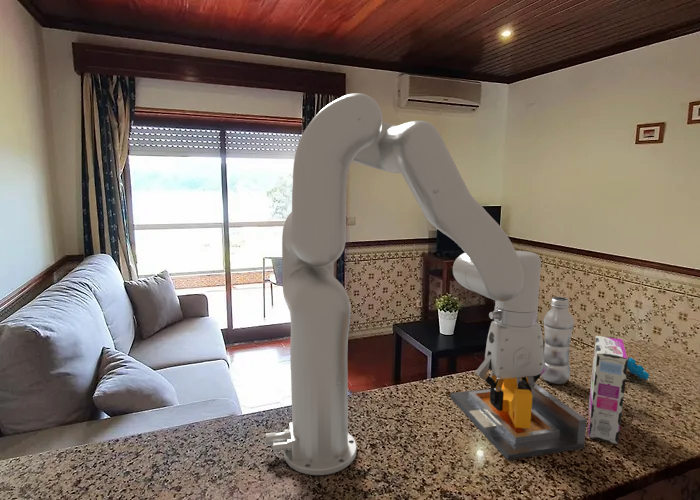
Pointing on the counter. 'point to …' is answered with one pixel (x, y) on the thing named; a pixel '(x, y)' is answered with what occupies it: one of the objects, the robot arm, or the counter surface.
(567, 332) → the plastic bottle
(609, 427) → the candy bar box
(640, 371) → the gear
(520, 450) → the grey tray with recess
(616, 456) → the counter surface
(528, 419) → the orange notched block
